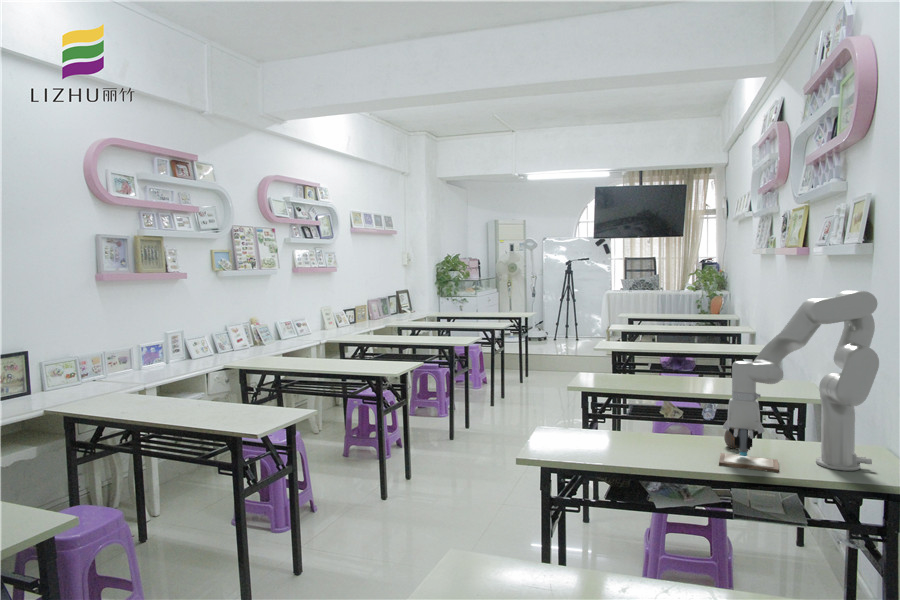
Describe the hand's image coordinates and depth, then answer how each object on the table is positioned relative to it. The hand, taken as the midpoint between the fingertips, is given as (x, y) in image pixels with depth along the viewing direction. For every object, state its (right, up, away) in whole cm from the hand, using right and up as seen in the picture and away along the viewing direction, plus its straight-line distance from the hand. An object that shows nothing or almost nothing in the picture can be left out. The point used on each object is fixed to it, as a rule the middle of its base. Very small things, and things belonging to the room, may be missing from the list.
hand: (743, 447), depth 204 cm
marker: (0, -3, 0) cm, 3 cm away
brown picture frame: (0, -5, -3) cm, 6 cm away
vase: (+5, -4, +17) cm, 18 cm away
